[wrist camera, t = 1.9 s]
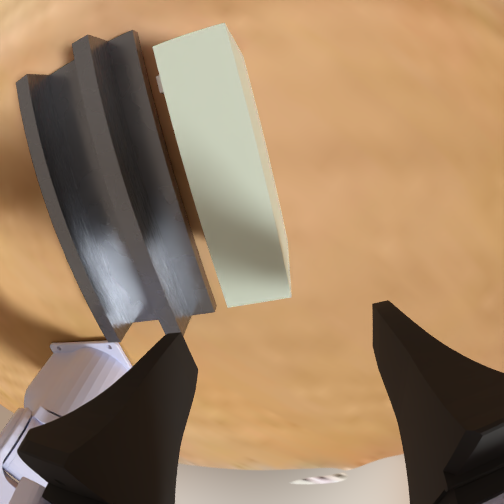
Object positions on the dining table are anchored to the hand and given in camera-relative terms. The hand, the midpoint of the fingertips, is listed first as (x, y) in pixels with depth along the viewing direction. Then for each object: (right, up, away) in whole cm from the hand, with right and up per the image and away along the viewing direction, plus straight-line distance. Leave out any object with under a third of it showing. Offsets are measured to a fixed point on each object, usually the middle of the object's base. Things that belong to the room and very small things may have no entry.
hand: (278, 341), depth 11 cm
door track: (-11, +7, +9) cm, 16 cm away
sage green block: (-2, +9, +7) cm, 12 cm away
